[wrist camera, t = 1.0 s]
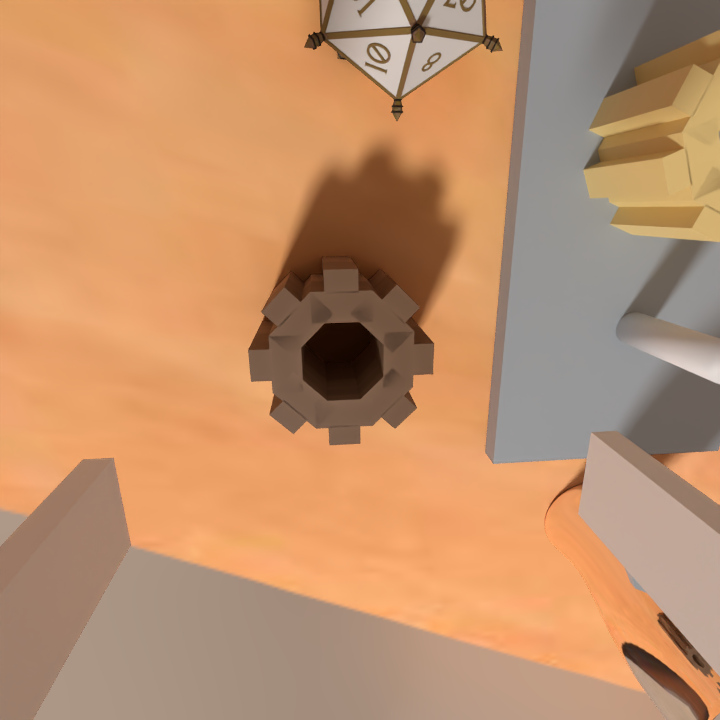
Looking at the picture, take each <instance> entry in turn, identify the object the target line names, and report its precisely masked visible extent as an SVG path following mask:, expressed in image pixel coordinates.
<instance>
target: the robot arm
mask: <svg viewBox="0 0 720 720" xmlns="http://www.w3.org/2000/svg"><path fill="white" fill-rule="evenodd" d="M578 514H579V516H580V517H581V518H582V519H583V520H584V521H585V523H586V524H587V525H588V526H589V527H590V528H591V529H592V531H593V532H594V533H595V534H596V535H597V536H598V537H599V539H600V540H601V541H602V542H603V543H604V544H605V546H606V547H607V548H608V549H609V550H610V551H611V552H612V554H613V555H614V556H615V557H616V558H617V559H618V560H619V562H620V563H621V564H622V565H623V566H624V567H625V568H626V570H627V571H628V572H629V573H630V574H631V575H632V577H633V578H634V579H635V580H636V581H637V582H638V583H639V585H640V586H641V587H642V588H643V589H644V590H645V591H646V593H647V594H648V595H649V596H650V597H651V598H652V599H653V601H654V602H655V603H656V604H657V605H658V606H659V608H660V609H661V610H662V611H663V612H664V613H665V614H666V616H667V617H668V618H669V619H670V620H671V621H672V622H673V624H674V625H675V626H676V627H677V628H678V629H679V630H680V632H681V633H682V634H683V635H684V636H685V637H686V639H687V640H688V641H689V642H690V643H691V644H692V645H693V647H694V648H695V649H696V650H697V651H698V652H699V653H700V655H701V656H702V657H703V658H704V659H705V660H706V662H707V663H708V664H709V665H710V666H711V667H712V668H713V670H714V671H715V672H716V673H717V674H718V675H719V676H720V505H718V504H717V503H716V502H714V501H713V500H711V499H710V498H709V497H707V496H706V495H705V494H703V493H702V492H700V491H699V490H698V489H696V488H695V487H693V486H692V485H691V484H689V483H688V482H687V481H685V480H684V479H682V478H681V477H680V476H678V475H677V474H675V473H674V472H673V471H671V470H670V469H669V468H667V467H666V466H664V465H663V464H662V463H660V462H659V461H658V460H656V459H655V458H653V457H652V456H651V455H649V454H648V453H646V452H645V451H644V450H642V449H641V448H640V447H638V446H637V445H635V444H634V443H633V442H631V441H630V440H629V439H627V438H626V437H624V436H623V435H622V434H620V433H619V432H617V431H604V432H591V436H590V442H589V449H588V455H587V461H586V467H585V474H584V480H583V486H582V493H581V499H580V505H579V512H578ZM130 546H131V543H130V538H129V533H128V528H127V523H126V518H125V513H124V508H123V503H122V498H121V493H120V488H119V483H118V478H117V473H116V468H115V463H114V458H103V459H84V460H82V461H81V462H80V463H79V464H78V465H77V466H76V467H75V469H74V470H73V471H72V472H71V473H70V474H69V475H68V476H67V477H66V478H65V479H64V480H63V481H62V482H61V483H60V484H59V485H58V486H57V487H56V489H55V490H54V491H53V492H52V493H51V494H50V495H49V496H48V497H47V498H46V499H45V500H44V501H43V502H42V503H41V504H40V505H39V506H38V507H37V508H36V510H35V511H34V512H33V513H32V514H31V515H30V516H29V517H28V518H27V519H26V520H25V521H24V522H23V523H22V524H21V525H20V526H19V527H18V528H17V530H16V531H15V532H14V533H13V534H12V535H11V536H10V537H9V538H8V539H7V540H6V541H5V542H4V543H3V544H2V545H1V546H0V720H33V719H34V717H35V715H36V713H37V711H38V710H39V708H40V706H41V704H42V702H43V701H44V699H45V697H46V695H47V694H48V692H49V690H50V688H51V686H52V685H53V683H54V681H55V679H56V678H57V676H58V674H59V672H60V670H61V668H62V667H63V665H64V663H65V662H66V660H67V658H68V656H69V654H70V653H71V651H72V649H73V647H74V646H75V644H76V642H77V640H78V638H79V637H80V635H81V633H82V631H83V629H84V628H85V626H86V624H87V622H88V620H89V619H90V617H91V615H92V613H93V611H94V610H95V608H96V606H97V604H98V603H99V601H100V599H101V597H102V595H103V594H104V592H105V590H106V588H107V587H108V585H109V583H110V581H111V579H112V578H113V576H114V574H115V572H116V570H117V569H118V567H119V565H120V563H121V562H122V560H123V558H124V556H125V555H126V553H127V551H128V549H129V547H130Z"/></svg>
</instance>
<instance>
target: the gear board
mask: <svg viewBox="0 0 720 720" xmlns="http://www.w3.org/2000/svg"><path fill="white" fill-rule="evenodd" d="M718 30H720V0H524V7H523V18H522V30H521V42H520V53H519V65H518V77H517V88H516V100H515V112H514V123H513V135H512V147H511V158H510V170H509V182H508V193H507V205H506V217H505V228H504V240H503V252H502V263H501V275H500V287H499V298H498V310H497V322H496V333H495V345H494V357H493V368H492V380H491V391H490V403H489V415H488V426H487V438H486V450H485V453H486V454H487V456H488V457H489V458H490V460H491V461H492V463H493V464H498V463H515V462H532V461H549V460H566V459H584V458H587V455H588V449H589V442H590V436H591V432H604V431H617V432H619V433H620V434H622V435H623V436H624V437H626V438H627V439H629V440H630V441H631V442H633V443H634V444H635V445H637V446H638V447H640V448H641V449H642V450H644V451H645V452H646V453H648V454H649V455H652V454H669V453H687V452H704V451H718V450H719V446H720V242H712V241H700V240H688V239H676V238H664V237H652V236H639V235H632V234H629V233H627V232H625V231H623V230H621V229H619V228H617V227H615V226H613V225H610V223H611V221H612V219H613V217H614V215H615V213H616V211H617V209H618V208H619V207H618V206H616V205H614V204H612V203H610V202H609V198H590V197H589V192H588V188H587V184H586V179H585V175H584V171H583V170H584V169H586V168H588V167H591V166H593V165H595V164H597V163H600V158H599V153H598V149H599V147H600V145H601V143H602V141H603V139H604V137H602V136H600V135H598V134H596V133H594V132H592V131H590V130H589V128H590V126H591V124H592V122H593V120H594V118H595V116H596V114H597V112H598V109H599V107H600V105H601V103H602V101H603V99H604V98H606V97H609V96H612V95H614V94H617V93H619V92H622V91H624V90H627V89H630V88H632V87H635V86H637V82H636V77H635V71H634V68H635V67H638V66H640V65H642V64H644V63H646V62H649V61H651V60H653V59H655V58H657V57H660V56H662V55H664V54H666V53H669V52H671V51H673V50H675V49H678V48H680V47H682V46H684V45H687V44H689V43H691V42H693V41H696V40H698V39H700V38H702V37H704V36H707V35H709V34H711V33H713V32H716V31H718ZM719 140H720V131H719Z"/></svg>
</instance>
